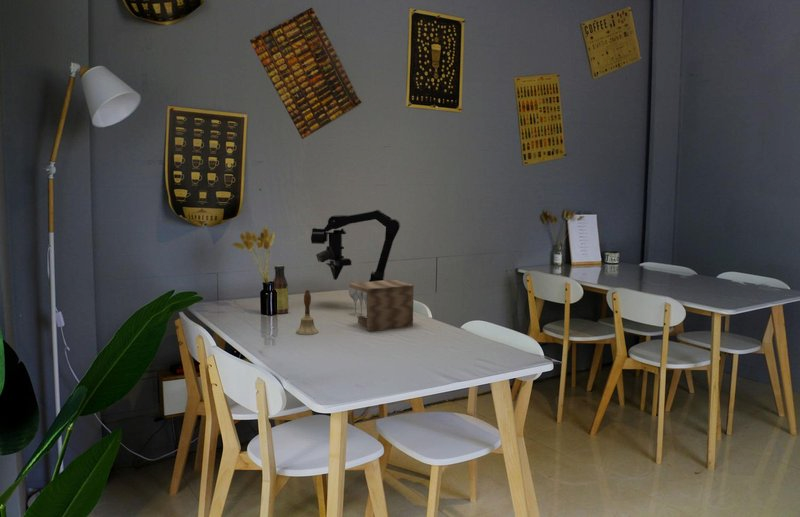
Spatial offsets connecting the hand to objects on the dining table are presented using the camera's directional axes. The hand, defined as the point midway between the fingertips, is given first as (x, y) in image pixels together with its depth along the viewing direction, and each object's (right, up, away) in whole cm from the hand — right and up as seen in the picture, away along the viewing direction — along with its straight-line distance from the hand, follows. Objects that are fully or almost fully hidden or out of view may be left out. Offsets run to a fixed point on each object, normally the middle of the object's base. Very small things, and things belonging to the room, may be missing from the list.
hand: (335, 279), depth 294 cm
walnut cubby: (+21, -17, -32) cm, 41 cm away
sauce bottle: (-22, -14, -13) cm, 28 cm away
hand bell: (-6, -18, -45) cm, 49 cm away
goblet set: (+15, -16, -23) cm, 32 cm away
